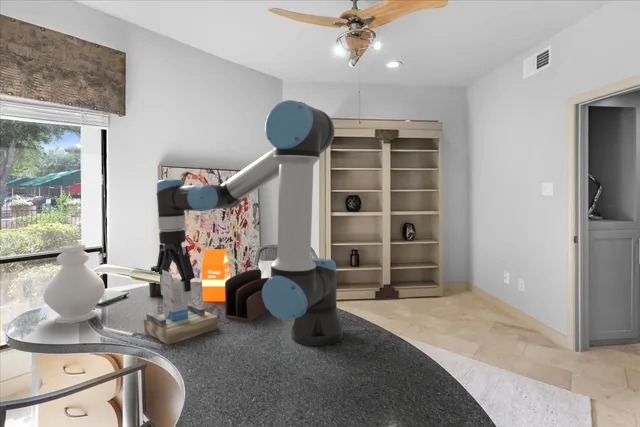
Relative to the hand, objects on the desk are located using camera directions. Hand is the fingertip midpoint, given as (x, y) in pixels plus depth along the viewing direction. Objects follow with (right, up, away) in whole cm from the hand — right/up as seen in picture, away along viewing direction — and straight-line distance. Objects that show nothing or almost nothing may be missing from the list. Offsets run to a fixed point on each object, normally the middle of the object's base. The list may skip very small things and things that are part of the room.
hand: (175, 297), depth 116 cm
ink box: (0, -6, +1) cm, 6 cm away
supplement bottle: (-23, -8, +41) cm, 48 cm away
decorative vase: (-40, -10, +15) cm, 44 cm away
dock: (+1, -10, +1) cm, 10 cm away
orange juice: (+3, -8, +34) cm, 35 cm away
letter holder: (+22, -9, +18) cm, 29 cm away
